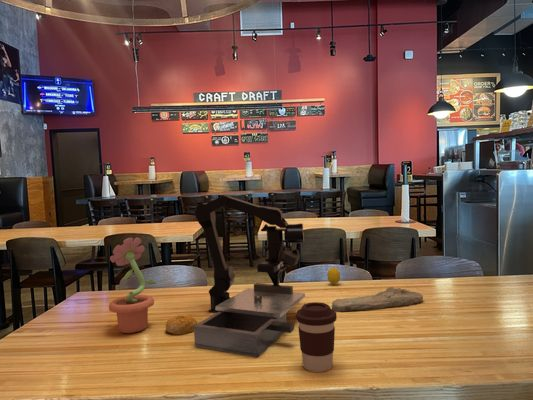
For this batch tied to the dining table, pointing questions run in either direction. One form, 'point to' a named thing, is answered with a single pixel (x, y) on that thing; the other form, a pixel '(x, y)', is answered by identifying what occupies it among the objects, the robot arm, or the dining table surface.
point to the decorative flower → (133, 305)
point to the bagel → (181, 324)
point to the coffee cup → (316, 335)
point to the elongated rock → (378, 300)
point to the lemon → (333, 275)
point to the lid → (263, 300)
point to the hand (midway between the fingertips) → (276, 287)
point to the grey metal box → (240, 332)
